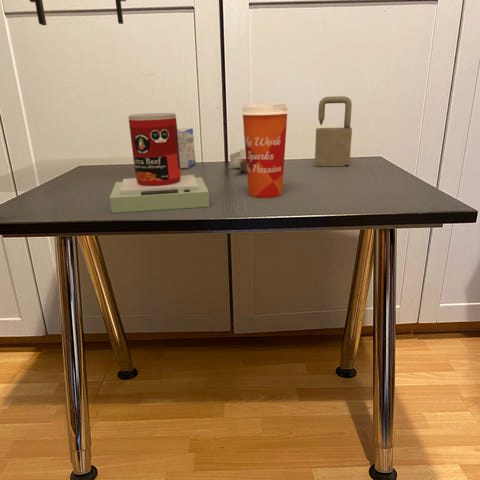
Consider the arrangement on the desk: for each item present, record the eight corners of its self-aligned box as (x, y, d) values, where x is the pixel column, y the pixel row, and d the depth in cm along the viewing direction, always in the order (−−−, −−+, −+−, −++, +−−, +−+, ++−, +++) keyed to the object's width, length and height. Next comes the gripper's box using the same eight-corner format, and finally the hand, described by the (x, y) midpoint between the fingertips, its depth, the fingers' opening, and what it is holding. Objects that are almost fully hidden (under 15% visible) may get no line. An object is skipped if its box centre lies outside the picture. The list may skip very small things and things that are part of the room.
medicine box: (188, 168, 117) (185, 130, 113) (170, 169, 117) (167, 131, 114) (195, 163, 124) (193, 127, 120) (179, 164, 124) (176, 128, 121)
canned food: (127, 184, 83) (118, 116, 78) (154, 177, 89) (147, 113, 85) (164, 187, 80) (157, 115, 75) (189, 179, 86) (184, 112, 82)
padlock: (314, 164, 118) (317, 96, 111) (348, 163, 116) (353, 95, 110) (314, 166, 114) (317, 97, 107) (349, 166, 113) (354, 96, 106)
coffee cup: (236, 197, 86) (233, 105, 79) (252, 188, 92) (250, 103, 86) (281, 200, 83) (281, 105, 76) (294, 190, 90) (296, 102, 83)
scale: (111, 213, 78) (108, 193, 77) (117, 195, 90) (115, 178, 89) (209, 206, 80) (208, 187, 79) (202, 190, 92) (201, 174, 91)
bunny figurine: (268, 147, 117) (273, 147, 103) (268, 169, 119) (273, 172, 105) (229, 148, 117) (229, 148, 103) (230, 170, 119) (229, 173, 105)
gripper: (138, -121, 82) (152, 24, 91) (-16, -125, 79) (15, 27, 88) (137, -140, 75) (152, 20, 84) (-32, -144, 72) (3, 22, 81)
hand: (82, 24), depth 86 cm, fingers open, 13 cm apart
